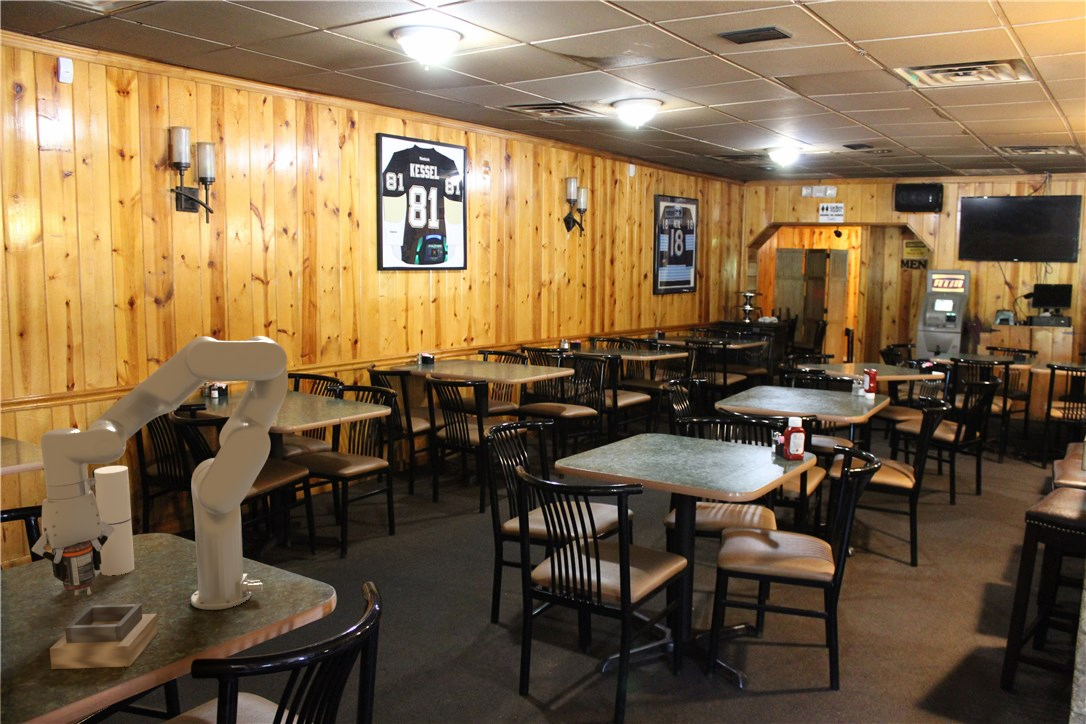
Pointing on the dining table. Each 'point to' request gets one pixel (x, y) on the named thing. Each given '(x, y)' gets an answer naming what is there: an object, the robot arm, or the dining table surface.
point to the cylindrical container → (115, 519)
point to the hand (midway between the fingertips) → (78, 573)
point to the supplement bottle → (78, 566)
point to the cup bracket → (104, 637)
